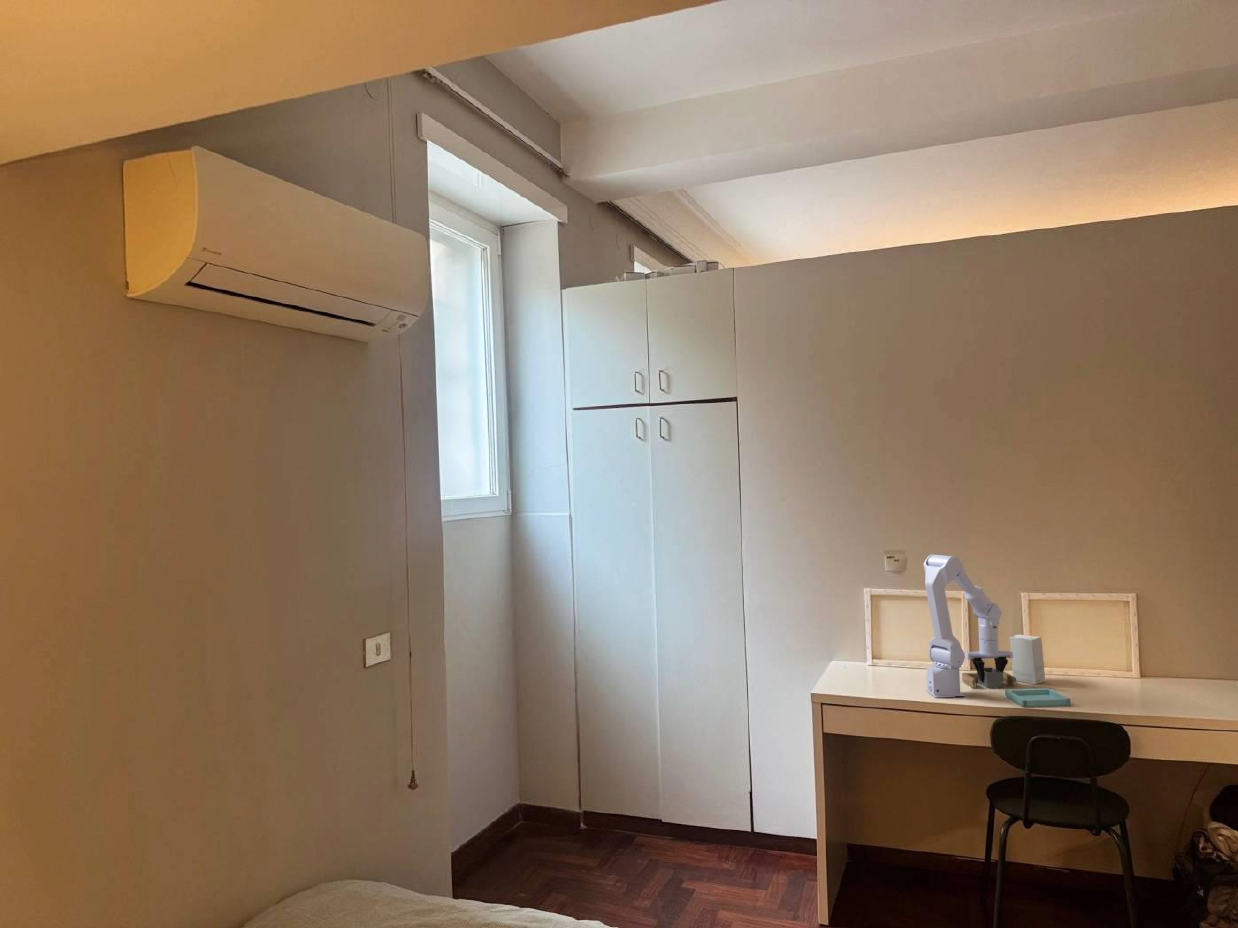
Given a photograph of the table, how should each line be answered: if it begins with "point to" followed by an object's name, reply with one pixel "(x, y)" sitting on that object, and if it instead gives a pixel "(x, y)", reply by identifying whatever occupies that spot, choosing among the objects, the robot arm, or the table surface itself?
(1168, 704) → the table surface
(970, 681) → the bay
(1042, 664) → the skincare box
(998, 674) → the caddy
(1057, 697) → the tray
